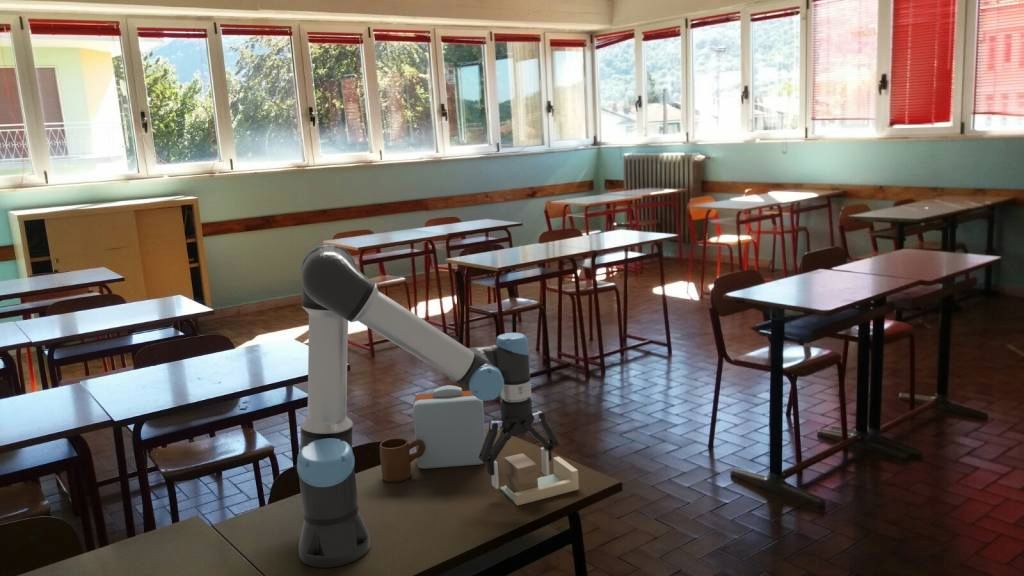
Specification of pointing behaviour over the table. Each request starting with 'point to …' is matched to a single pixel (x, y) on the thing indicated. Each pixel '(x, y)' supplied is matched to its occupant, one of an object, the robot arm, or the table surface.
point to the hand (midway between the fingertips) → (520, 480)
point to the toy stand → (548, 484)
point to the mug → (398, 458)
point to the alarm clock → (449, 427)
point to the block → (520, 473)
